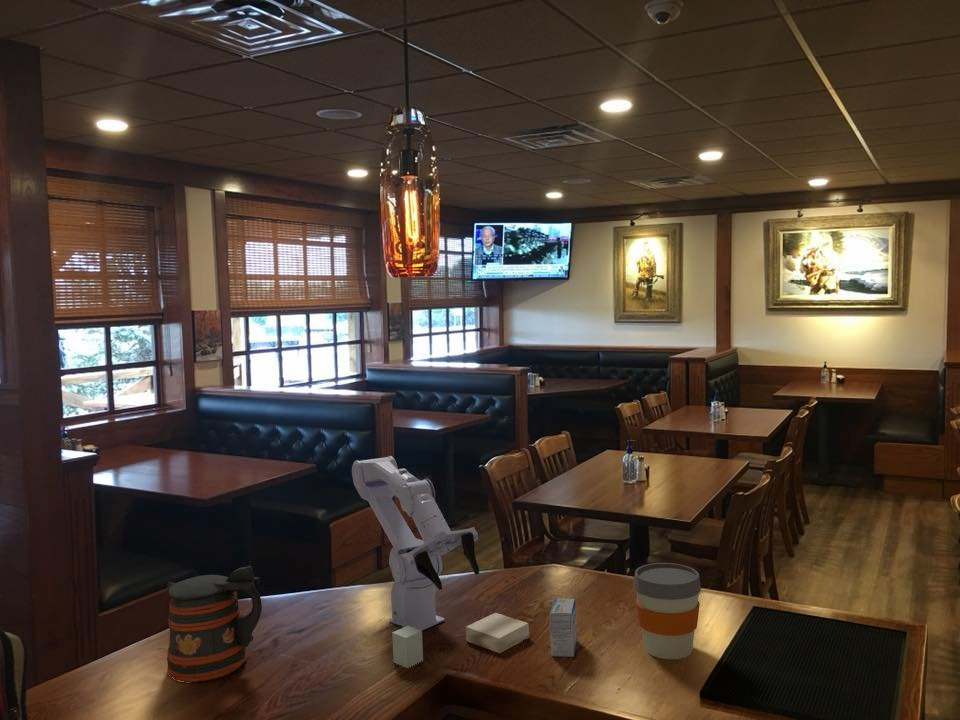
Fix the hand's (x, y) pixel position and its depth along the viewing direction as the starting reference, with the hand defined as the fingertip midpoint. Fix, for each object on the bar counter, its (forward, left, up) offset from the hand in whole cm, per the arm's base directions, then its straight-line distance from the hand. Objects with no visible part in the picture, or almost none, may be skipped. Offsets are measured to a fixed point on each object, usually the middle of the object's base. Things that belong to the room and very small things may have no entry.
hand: (458, 579), depth 151 cm
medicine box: (+12, +16, -16) cm, 26 cm away
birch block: (-1, +11, -16) cm, 19 cm away
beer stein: (-36, -31, -16) cm, 50 cm away
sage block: (-8, -7, -16) cm, 19 cm away
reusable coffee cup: (+28, +28, -16) cm, 43 cm away
